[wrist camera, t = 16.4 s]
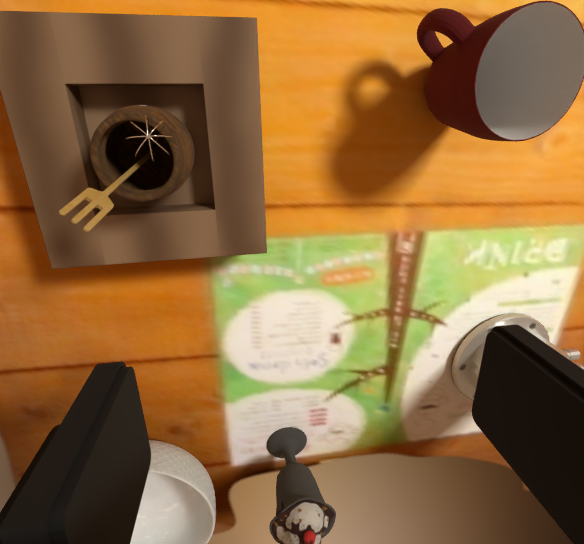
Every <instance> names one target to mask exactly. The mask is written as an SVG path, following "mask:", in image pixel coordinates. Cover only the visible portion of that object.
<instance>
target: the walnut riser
mask: <svg viewBox="0 0 584 544" xmlns="http://www.w3.org/2000/svg"><path fill="white" fill-rule="evenodd" d="M0 90H1V94H2V97H3V101H4V104H5V108H6V111H7V114H8V118H9V121H10V125H11V128H12V132H13V135H14V139H15V142H16V146H17V149H18V153H19V156H20V159H21V163H22V166H23V170H24V173H25V177H26V180H27V184H28V187H29V191H30V194H31V198H32V201H33V205H34V208H35V211H36V215H37V218H38V222H39V225H40V229H41V232H42V236H43V239H44V243H45V246H46V250H47V253H48V256H49V260H50V263H51V267H52V269H55V268H69V267H83V266H96V265H110V264H123V263H137V262H151V261H164V260H178V259H191V258H205V257H218V256H232V255H246V254H259V253H267V244H266V221H265V198H264V175H263V151H262V128H261V105H260V82H259V58H258V35H257V18H244V17H207V16H171V15H134V14H97V13H60V12H23V11H0ZM132 105H147V106H153V107H157V108H160V109H163V110H166V111H168V112H169V113H171V114H173V115H174V116H176V117H177V118H178V119H179V120H180V121H181V122H182V123H183V124H184V125H185V127H186V128H187V130H188V131H189V133H190V135H191V137H192V140H193V144H194V149H195V159H194V164H193V168H192V170H191V172H190V174H189V176H188V178H187V180H186V181H185V183H184V184H183V185H182V186H181V187H180V188H179V189H178V190H177V191H175V192H174V193H172V194H171V195H169V196H167V197H164V198H161V199H156V200H152V201H133V200H128V199H125V198H123V197H120V196H118V195H117V194H115V193H113V192H112V193H111V194H110V195H109V196H108V197H109V199H110V200H111V201H112V203H113V204H114V207H113V208H112V210H111V211H110V212H109V213H108V214H107V215H106V216H104V217H103V218H102V219H101V220H100V221H99V222H98V223H97V224H96V225H95V226H94V227H93V228H92V229H91V230H90V231H89V232H86V231H84V230H83V227H84V226H85V225H86V224H87V223H88V222H89V221H90V220H92V219H93V218H94V217H95V216H96V215H97V214H98V213H99V212H100V209H98V208H94V209H93V210H92V211H91V212H90V213H89V214H88V215H86V216H85V217H84V218H83V219H82V220H81V221H80V222H79V223H77V224H74V223H72V222H71V219H72V218H73V217H74V216H76V215H77V214H78V213H79V212H80V211H81V210H82V209H84V208H85V207H86V206H87V205H88V204H89V203H90V202H88V201H87V200H84V201H82V202H81V203H80V204H79V205H77V206H76V207H75V208H74V209H73V210H71V211H70V212H69V213H68V214H66V215H65V216H62V215H60V214H59V210H61V209H62V208H63V207H64V206H66V205H67V204H68V203H69V202H71V201H72V200H73V199H74V198H76V197H77V196H78V195H79V194H81V193H82V192H83V191H84V190H86V189H87V188H93V189H95V190H98V191H101V192H102V191H104V190H105V189H107V187H106V186H105V185H104V184H103V183H102V182H101V181H100V179H99V178H98V176H97V175H96V173H95V171H94V168H93V166H92V163H91V158H90V144H91V139H92V136H93V134H94V132H95V130H96V129H97V127H98V126H99V125H100V124H101V122H102V121H104V120H105V119H106V118H107V117H108V116H109V115H110V114H112V113H113V112H115V111H116V110H118V109H121V108H123V107H127V106H132Z"/></svg>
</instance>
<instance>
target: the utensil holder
mask: <svg viewBox="0 0 584 544" xmlns="http://www.w3.org/2000/svg"><path fill="white" fill-rule="evenodd" d="M90 158H91V163H92V166H93V168H94V171H95V173H96V175H97V176H98V178H99V179H100V181H101V182H102V183H103V184H104V185H105V186H106V187H107V189H105V190H104V191H102V192H101V191H98V190H95V189H93V188H87V189H86V190H84V191H83V192H82V193H81V194H79V195H78V196H77V197H76V198H74V199H73V200H72V201H71V202H69V203H68V204H67V205H66V206H64V207H63V208H62V209H61V210H59V214H60V215H62V216H65V215H66V214H68V213H69V212H70V211H71V210H73V209H74V208H75V207H76V206H77V205H79V204H80V203H81V202H82V201H84V200H87V201H88V202H90V203H89V204H88V205H87V206H86V207H85V208H84V209H82V210H81V211H80V212H79V213H78V214H77V215H76V216H74V217H73V218H72V219H71V222H72V223H74V224H77V223H79V222H80V221H81V220H82V219H83V218H84V217H85V216H86V215H88V214H89V213H90V212H91V211H92V210H93V209H94V208H98V209H100V212H99V213H98V214H97V215H96V216H95V217H94V218H93V219H92V220H90V221H89V222H88V223H87V224H86V225H85V226H84V227H83V230H84V231H86V232H89V231H90V230H91V229H92V228H93V227H94V226H95V225H96V224H97V223H98V222H99V221H100V220H101V219H102V218H103V217H104V216H106V215H107V214H108V213H109V212H110V211H111V210H112V208H113V207H114V204H113V203H112V201H111V200H110V199H109V197H108V196H109V195H110V194H111V193H112V192H113V193H115V194H117V195H118V196H120V197H123V198H125V199H128V200H133V201H152V200H156V199H161V198H164V197H167V196H169V195H171V194H172V193H174V192H175V191H177V190H178V189H179V188H180V187H181V186H182V185H183V184H184V183H185V181H186V180H187V178H188V176H189V174H190V172H191V170H192V168H193V164H194V159H195V149H194V144H193V140H192V137H191V135H190V133H189V131H188V130H187V128H186V127H185V125H184V124H183V123H182V122H181V121H180V120H179V119H178V118H177V117H176V116H174V115H173V114H171V113H169V112H168V111H166V110H163V109H160V108H157V107H153V106H147V105H132V106H127V107H123V108H121V109H118V110H116V111H115V112H113V113H112V114H110V115H109V116H108V117H107V118H106V119H105V120H104V121H102V122H101V124H100V125H99V126H98V127H97V129H96V130H95V132H94V134H93V136H92V139H91V144H90Z"/></svg>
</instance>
